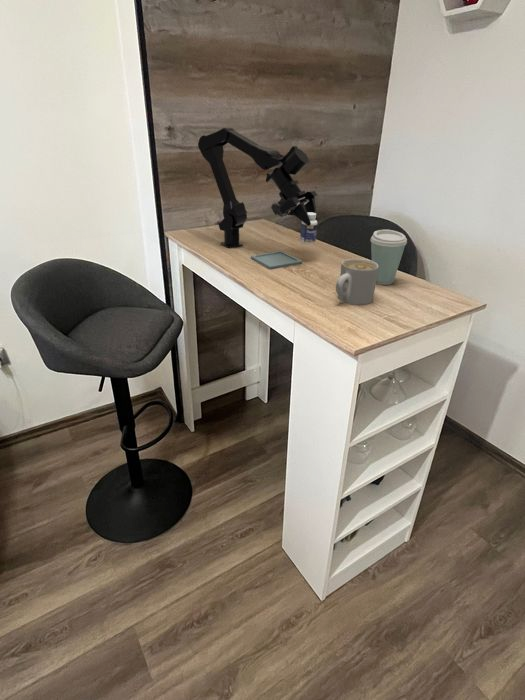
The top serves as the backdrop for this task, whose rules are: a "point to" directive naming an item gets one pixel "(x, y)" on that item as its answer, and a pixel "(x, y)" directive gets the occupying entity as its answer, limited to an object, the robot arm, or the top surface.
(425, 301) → the top surface
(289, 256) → the tray
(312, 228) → the pill bottle
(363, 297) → the coffee mug
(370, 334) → the top surface
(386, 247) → the disposable coffee cup
